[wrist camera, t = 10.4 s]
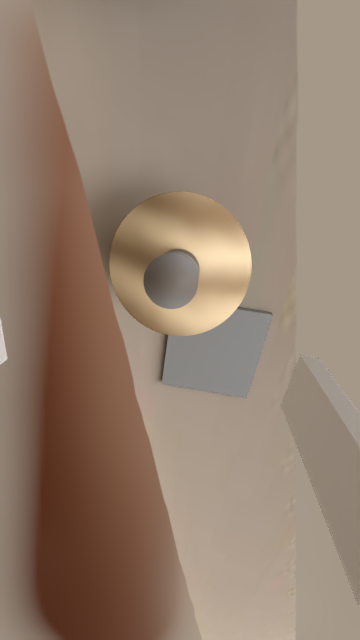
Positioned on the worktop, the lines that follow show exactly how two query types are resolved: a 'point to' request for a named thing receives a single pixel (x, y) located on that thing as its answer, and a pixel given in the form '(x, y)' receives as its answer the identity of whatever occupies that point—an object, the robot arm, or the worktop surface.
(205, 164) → the worktop surface
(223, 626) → the worktop surface
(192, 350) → the mat
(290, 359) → the worktop surface
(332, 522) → the robot arm
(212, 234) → the lid
